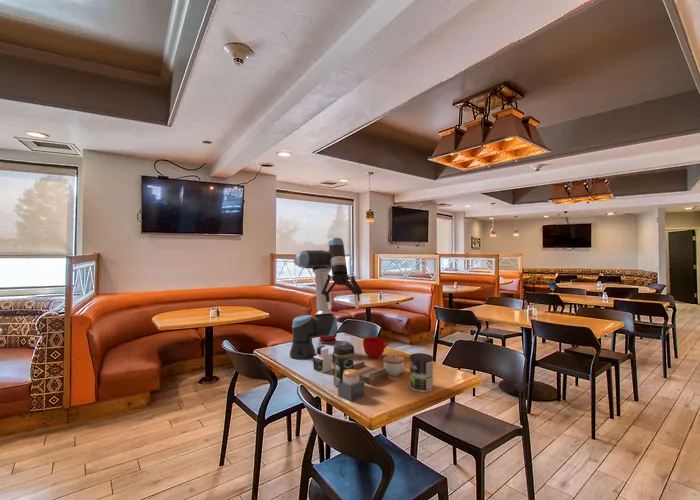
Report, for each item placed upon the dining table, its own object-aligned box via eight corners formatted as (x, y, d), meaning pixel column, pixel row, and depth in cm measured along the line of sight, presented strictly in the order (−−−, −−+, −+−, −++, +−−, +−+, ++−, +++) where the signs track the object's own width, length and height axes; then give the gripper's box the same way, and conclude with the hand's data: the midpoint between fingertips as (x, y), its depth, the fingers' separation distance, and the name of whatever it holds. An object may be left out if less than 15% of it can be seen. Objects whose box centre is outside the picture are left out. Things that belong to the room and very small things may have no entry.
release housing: (338, 396, 144) (337, 382, 144) (351, 390, 150) (351, 377, 150) (350, 401, 139) (350, 387, 139) (364, 396, 144) (364, 382, 144)
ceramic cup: (394, 356, 198) (394, 339, 199) (372, 362, 189) (372, 344, 189) (380, 351, 209) (380, 335, 209) (358, 356, 200) (358, 339, 200)
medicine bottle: (313, 370, 177) (313, 347, 177) (323, 366, 182) (323, 344, 182) (322, 373, 172) (322, 349, 172) (332, 369, 177) (332, 346, 177)
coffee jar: (348, 379, 163) (347, 341, 163) (357, 384, 157) (357, 344, 157) (331, 384, 157) (330, 344, 158) (340, 389, 151) (340, 348, 151)
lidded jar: (392, 368, 178) (392, 350, 178) (408, 373, 171) (408, 354, 171) (379, 373, 171) (378, 355, 171) (395, 379, 163) (395, 359, 163)
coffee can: (415, 393, 146) (415, 360, 147) (406, 384, 157) (406, 354, 157) (437, 390, 149) (436, 359, 149) (426, 382, 159) (426, 352, 159)
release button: (340, 388, 144) (340, 371, 144) (351, 384, 149) (351, 368, 149) (350, 392, 140) (350, 375, 140) (361, 388, 144) (361, 371, 144)
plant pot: (340, 343, 229) (340, 325, 229) (323, 345, 223) (323, 327, 223) (332, 338, 240) (331, 322, 241) (315, 341, 234) (315, 324, 234)
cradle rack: (345, 375, 168) (345, 365, 168) (362, 369, 176) (362, 360, 176) (372, 385, 155) (372, 375, 155) (389, 379, 163) (388, 368, 163)
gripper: (316, 262, 158) (320, 305, 149) (364, 264, 168) (371, 305, 158) (312, 269, 164) (316, 311, 155) (359, 271, 174) (365, 310, 164)
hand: (344, 308), depth 156 cm, fingers open, 13 cm apart
